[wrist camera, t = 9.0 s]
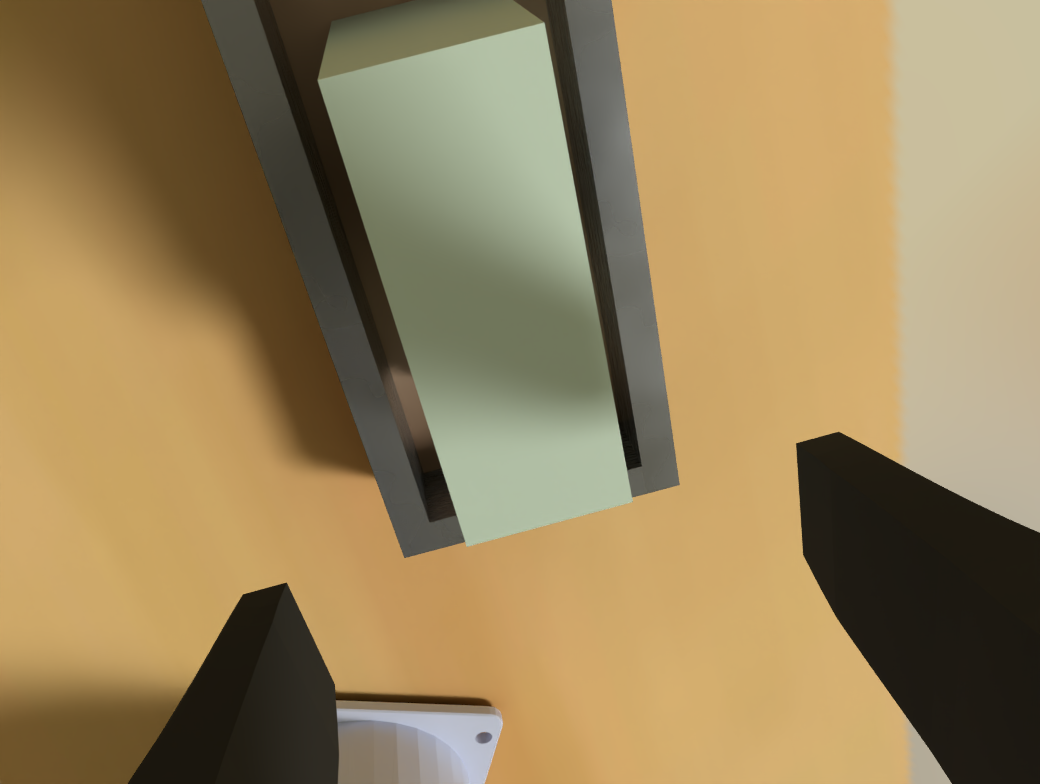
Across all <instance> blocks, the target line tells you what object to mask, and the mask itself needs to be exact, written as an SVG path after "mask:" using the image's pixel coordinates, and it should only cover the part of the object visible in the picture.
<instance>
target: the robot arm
mask: <svg viewBox="0 0 1040 784" xmlns="http://www.w3.org/2000/svg"><path fill="white" fill-rule="evenodd" d="M796 448H797V464H798V479H799V495H800V511H801V527H802V543H803V555H804V557H805V559H806V561H807V563H808V565H809V567H810V569H811V571H812V573H813V575H814V577H815V579H816V580H817V582H818V584H819V586H820V588H821V590H822V592H823V594H824V596H825V597H826V599H827V601H828V603H829V605H830V607H831V608H832V610H833V612H834V614H835V616H836V617H837V619H838V620H839V622H840V623H841V625H842V626H843V628H844V629H845V630H846V632H847V633H848V635H849V636H850V638H851V639H852V640H853V642H854V643H855V645H856V646H857V648H858V649H859V650H860V652H861V653H862V655H863V656H864V658H865V659H866V660H867V662H868V663H869V665H870V666H871V668H872V669H873V670H874V672H875V673H876V675H877V676H878V677H879V679H880V680H881V682H882V683H883V684H884V686H885V687H886V689H887V690H888V691H889V693H890V694H891V696H892V697H893V699H894V700H895V701H896V703H897V704H898V706H899V707H900V708H901V710H902V711H903V713H904V714H905V715H906V717H907V718H908V720H909V721H910V722H911V724H912V725H913V727H914V728H915V729H916V731H917V732H918V734H919V735H920V736H921V738H922V739H923V741H924V742H925V744H926V745H927V746H928V748H929V749H930V751H931V752H932V754H933V755H934V757H935V758H936V760H937V761H938V763H939V764H940V766H941V767H942V769H943V770H944V772H945V774H946V775H947V777H948V778H949V780H950V781H951V783H952V784H1040V533H1039V532H1037V531H1034V530H1032V529H1030V528H1028V527H1025V526H1023V525H1020V524H1018V523H1016V522H1014V521H1012V520H1009V519H1007V518H1005V517H1003V516H1001V515H999V514H996V513H995V512H992V511H990V510H988V509H986V508H984V507H982V506H980V505H978V504H976V503H974V502H971V501H969V500H968V499H966V498H963V497H962V496H959V495H958V494H956V493H954V492H952V491H949V490H948V489H946V488H944V487H942V486H940V485H938V484H936V483H934V482H932V481H930V480H928V479H926V478H925V477H923V476H921V475H919V474H917V473H915V472H913V471H911V470H910V469H908V468H906V467H904V466H902V465H900V464H898V463H896V462H895V461H893V460H891V459H889V458H887V457H885V456H884V455H882V454H880V453H878V452H876V451H874V450H872V449H871V448H869V447H867V446H865V445H863V444H861V443H859V442H857V441H856V440H854V439H852V438H850V437H848V436H846V435H844V434H842V433H840V432H836V433H833V434H829V435H825V436H822V437H818V438H814V439H811V440H807V441H803V442H800V443H796ZM502 726H503V721H502V715H501V712H500V711H499V710H498V709H497V708H495V707H490V706H472V705H446V704H420V703H394V702H368V701H343V700H336V694H335V684H334V682H333V680H332V678H331V675H330V673H329V671H328V669H327V667H326V665H325V663H324V661H323V659H322V656H321V654H320V652H319V650H318V648H317V646H316V644H315V642H314V639H313V637H312V635H311V633H310V631H309V629H308V627H307V625H306V622H305V620H304V618H303V616H302V614H301V612H300V610H299V608H298V606H297V603H296V601H295V599H294V597H293V595H292V593H291V591H290V589H289V586H288V584H287V583H283V584H280V585H276V586H272V587H269V588H265V589H261V590H258V591H254V592H251V593H247V594H243V595H242V597H241V599H240V600H239V602H238V604H237V605H236V607H235V609H234V610H233V612H232V614H231V615H230V617H229V619H228V620H227V622H226V624H225V626H224V627H223V629H222V631H221V633H220V634H219V636H218V638H217V640H216V641H215V643H214V645H213V647H212V648H211V650H210V652H209V654H208V655H207V657H206V659H205V661H204V662H203V664H202V666H201V667H200V669H199V671H198V673H197V674H196V676H195V678H194V680H193V681H192V683H191V685H190V686H189V688H188V690H187V691H186V693H185V695H184V696H183V698H182V699H181V701H180V703H179V704H178V706H177V708H176V709H175V711H174V713H173V714H172V716H171V718H170V719H169V721H168V723H167V724H166V726H165V728H164V729H163V731H162V732H161V734H160V736H159V737H158V739H157V740H156V742H155V743H154V745H153V746H152V748H151V749H150V751H149V752H148V754H147V755H146V757H145V758H144V760H143V761H142V763H141V764H140V766H139V767H138V769H137V770H136V772H135V773H134V775H133V776H132V778H131V779H130V781H129V782H128V784H485V781H486V777H487V774H488V771H489V768H490V765H491V761H492V758H493V755H494V752H495V749H496V745H497V742H498V739H499V736H500V732H501V729H502ZM482 732H485V733H482Z"/></svg>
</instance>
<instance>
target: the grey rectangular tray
mask: <svg viewBox="0 0 1040 784" xmlns="http://www.w3.org/2000/svg"><path fill="white" fill-rule="evenodd" d="M201 1H202V4H203V7H204V10H205V12H206V15H207V18H208V21H209V23H210V26H211V29H212V31H213V34H214V37H215V40H216V42H217V45H218V48H219V51H220V53H221V56H222V59H223V62H224V64H225V67H226V70H227V73H228V75H229V78H230V81H231V84H232V86H233V89H234V92H235V95H236V97H237V100H238V103H239V106H240V108H241V111H242V114H243V116H244V119H245V122H246V125H247V127H248V130H249V133H250V136H251V138H252V141H253V144H254V147H255V149H256V152H257V155H258V158H259V160H260V163H261V166H262V169H263V171H264V174H265V177H266V180H267V182H268V185H269V188H270V191H271V193H272V196H273V199H274V201H275V204H276V207H277V210H278V212H279V215H280V218H281V221H282V223H283V226H284V229H285V232H286V234H287V237H288V240H289V243H290V245H291V248H292V251H293V254H294V256H295V259H296V262H297V265H298V267H299V270H300V273H301V276H302V278H303V281H304V284H305V286H306V289H307V292H308V295H309V297H310V300H311V303H312V306H313V308H314V311H315V314H316V317H317V319H318V322H319V325H320V328H321V330H322V333H323V336H324V339H325V341H326V344H327V347H328V350H329V352H330V355H331V358H332V361H333V363H334V366H335V369H336V371H337V374H338V377H339V380H340V382H341V385H342V388H343V391H344V393H345V396H346V399H347V402H348V404H349V407H350V410H351V413H352V415H353V418H354V421H355V424H356V426H357V429H358V432H359V435H360V437H361V440H362V443H363V446H364V448H365V451H366V454H367V456H368V459H369V462H370V465H371V467H372V470H373V473H374V476H375V478H376V481H377V484H378V487H379V489H380V492H381V495H382V498H383V500H384V503H385V506H386V509H387V511H388V514H389V517H390V520H391V522H392V525H393V528H394V530H395V533H396V536H397V539H398V541H399V544H400V547H401V550H402V552H403V555H404V558H406V557H410V556H414V555H418V554H421V553H425V552H429V551H433V550H437V549H440V548H444V547H448V546H452V545H455V544H459V543H463V542H465V539H464V536H463V533H462V530H461V527H460V524H459V520H458V517H457V514H456V511H455V508H454V505H453V502H452V499H451V495H450V492H449V489H448V486H447V483H446V480H445V477H444V474H443V470H442V467H441V464H440V461H439V458H438V455H437V452H436V449H435V446H434V442H433V439H432V436H431V433H430V430H429V427H428V424H427V421H426V417H425V414H424V411H423V408H422V405H421V402H420V399H419V396H418V392H417V389H416V386H415V383H414V380H413V377H412V374H411V371H410V367H409V364H408V361H407V358H406V355H405V352H404V349H403V346H402V342H401V339H400V336H399V333H398V330H397V327H396V324H395V321H394V317H393V314H392V311H391V308H390V305H389V302H388V299H387V296H386V292H385V289H384V286H383V283H382V280H381V277H380V274H379V271H378V267H377V264H376V261H375V258H374V255H373V252H372V249H371V246H370V243H369V239H368V236H367V233H366V230H365V227H364V224H363V221H362V218H361V214H360V211H359V208H358V205H357V202H356V199H355V196H354V193H353V189H352V186H351V183H350V180H349V177H348V174H347V171H346V168H345V164H344V161H343V158H342V155H341V152H340V149H339V146H338V143H337V139H336V136H335V133H334V130H333V127H332V124H331V121H330V118H329V114H328V111H327V108H326V105H325V102H324V99H323V96H322V93H321V89H320V86H319V83H318V76H319V72H320V68H321V64H322V60H323V55H324V51H325V47H326V43H327V39H328V35H329V30H330V26H331V22H332V21H334V20H338V19H342V18H346V17H350V16H354V15H358V14H362V13H366V12H370V11H374V10H378V9H382V8H386V7H390V6H394V5H398V4H402V3H406V2H410V1H413V0H201ZM514 1H515V2H516V3H518V4H519V5H521V6H522V7H523V8H525V9H526V10H528V11H529V12H530V13H532V14H533V15H535V16H536V17H537V18H539V19H540V20H542V21H543V22H544V23H545V28H546V34H547V39H548V45H549V50H550V56H551V61H552V66H553V72H554V77H555V83H556V88H557V93H558V99H559V104H560V110H561V115H562V121H563V126H564V131H565V137H566V142H567V148H568V153H569V159H570V164H571V169H572V175H573V180H574V186H575V191H576V197H577V202H578V207H579V213H580V218H581V224H582V229H583V235H584V240H585V245H586V251H587V256H588V262H589V267H590V272H591V278H592V283H593V289H594V294H595V300H596V305H597V310H598V316H599V321H600V327H601V332H602V338H603V343H604V348H605V354H606V359H607V365H608V370H609V376H610V381H611V386H612V392H613V397H614V403H615V408H616V413H617V419H618V424H619V430H620V435H621V441H622V446H623V451H624V457H625V462H626V468H627V473H628V479H629V484H630V489H631V495H632V497H636V496H640V495H643V494H647V493H651V492H655V491H658V490H662V489H666V488H670V487H674V486H677V485H680V484H679V477H678V470H677V463H676V456H675V449H674V442H673V435H672V428H671V420H670V413H669V406H668V399H667V392H666V385H665V378H664V371H663V364H662V357H661V349H660V342H659V335H658V328H657V321H656V314H655V307H654V300H653V293H652V285H651V278H650V271H649V264H648V257H647V250H646V243H645V236H644V229H643V221H642V214H641V207H640V200H639V193H638V186H637V179H636V172H635V165H634V157H633V150H632V143H631V136H630V129H629V122H628V115H627V108H626V101H625V93H624V86H623V79H622V72H621V65H620V58H619V51H618V44H617V37H616V30H615V22H614V15H613V8H612V1H611V0H514Z"/></svg>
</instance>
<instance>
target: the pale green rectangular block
mask: <svg viewBox="0 0 1040 784" xmlns="http://www.w3.org/2000/svg"><path fill="white" fill-rule="evenodd" d="M318 83H319V86H320V89H321V93H322V96H323V99H324V102H325V105H326V108H327V111H328V114H329V118H330V121H331V124H332V127H333V130H334V133H335V136H336V139H337V143H338V146H339V149H340V152H341V155H342V158H343V161H344V164H345V168H346V171H347V174H348V177H349V180H350V183H351V186H352V189H353V193H354V196H355V199H356V202H357V205H358V208H359V211H360V214H361V218H362V221H363V224H364V227H365V230H366V233H367V236H368V239H369V243H370V246H371V249H372V252H373V255H374V258H375V261H376V264H377V267H378V271H379V274H380V277H381V280H382V283H383V286H384V289H385V292H386V296H387V299H388V302H389V305H390V308H391V311H392V314H393V317H394V321H395V324H396V327H397V330H398V333H399V336H400V339H401V342H402V346H403V349H404V352H405V355H406V358H407V361H408V364H409V367H410V371H411V374H412V377H413V380H414V383H415V386H416V389H417V392H418V396H419V399H420V402H421V405H422V408H423V411H424V414H425V417H426V421H427V424H428V427H429V430H430V433H431V436H432V439H433V442H434V446H435V449H436V452H437V455H438V458H439V461H440V464H441V467H442V470H443V474H444V477H445V480H446V483H447V486H448V489H449V492H450V495H451V499H452V502H453V505H454V508H455V511H456V514H457V517H458V520H459V524H460V527H461V530H462V533H463V536H464V539H465V542H466V545H467V547H468V546H472V545H475V544H479V543H483V542H486V541H490V540H494V539H498V538H501V537H505V536H509V535H512V534H516V533H520V532H523V531H527V530H531V529H535V528H538V527H542V526H546V525H549V524H553V523H557V522H560V521H564V520H568V519H572V518H575V517H579V516H583V515H586V514H590V513H594V512H597V511H601V510H605V509H609V508H612V507H616V506H620V505H623V504H627V503H631V502H633V500H632V495H631V489H630V484H629V479H628V473H627V468H626V462H625V457H624V451H623V446H622V441H621V435H620V430H619V424H618V419H617V413H616V408H615V403H614V397H613V392H612V386H611V381H610V376H609V370H608V365H607V359H606V354H605V348H604V343H603V338H602V332H601V327H600V321H599V316H598V310H597V305H596V300H595V294H594V289H593V283H592V278H591V272H590V267H589V262H588V256H587V251H586V245H585V240H584V235H583V229H582V224H581V218H580V213H579V207H578V202H577V197H576V191H575V186H574V180H573V175H572V169H571V164H570V159H569V153H568V148H567V142H566V137H565V131H564V126H563V121H562V115H561V110H560V104H559V99H558V93H557V88H556V83H555V77H554V72H553V66H552V61H551V56H550V50H549V45H548V39H547V34H546V28H545V23H544V22H543V21H542V20H540V19H539V18H537V17H536V16H535V15H533V14H532V13H530V12H529V11H528V10H526V9H525V8H523V7H522V6H521V5H519V4H518V3H516V2H515V1H514V0H413V1H410V2H406V3H402V4H398V5H394V6H390V7H386V8H382V9H378V10H374V11H370V12H366V13H362V14H358V15H354V16H350V17H346V18H342V19H338V20H334V21H332V22H331V26H330V30H329V35H328V39H327V43H326V47H325V51H324V55H323V60H322V64H321V68H320V72H319V76H318Z"/></svg>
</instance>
